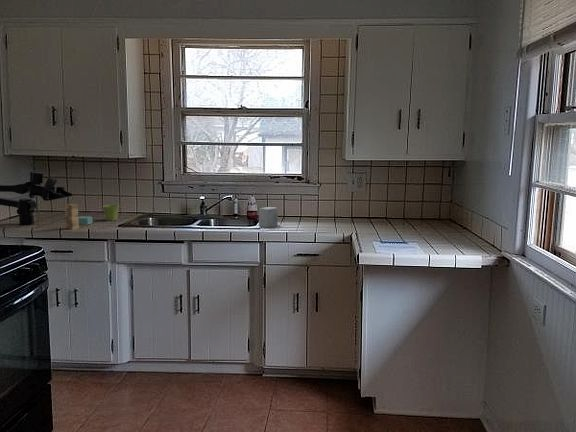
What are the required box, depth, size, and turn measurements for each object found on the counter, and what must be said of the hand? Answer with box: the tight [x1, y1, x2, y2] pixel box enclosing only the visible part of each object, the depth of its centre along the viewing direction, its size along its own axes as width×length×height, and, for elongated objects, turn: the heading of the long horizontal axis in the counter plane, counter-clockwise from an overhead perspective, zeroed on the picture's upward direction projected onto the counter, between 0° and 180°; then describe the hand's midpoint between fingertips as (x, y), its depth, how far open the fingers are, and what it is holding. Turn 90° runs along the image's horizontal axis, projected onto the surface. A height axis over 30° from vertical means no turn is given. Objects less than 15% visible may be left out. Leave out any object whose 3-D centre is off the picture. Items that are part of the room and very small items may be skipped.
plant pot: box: [102, 204, 120, 222], centre depth 316 cm, size 9×9×9 cm
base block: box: [78, 215, 93, 226], centre depth 302 cm, size 7×7×4 cm
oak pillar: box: [64, 203, 80, 230], centre depth 286 cm, size 4×4×13 cm
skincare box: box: [258, 206, 279, 228], centre depth 301 cm, size 10×6×10 cm, turn 149°
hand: (68, 195), depth 295 cm, fingers open, 9 cm apart
